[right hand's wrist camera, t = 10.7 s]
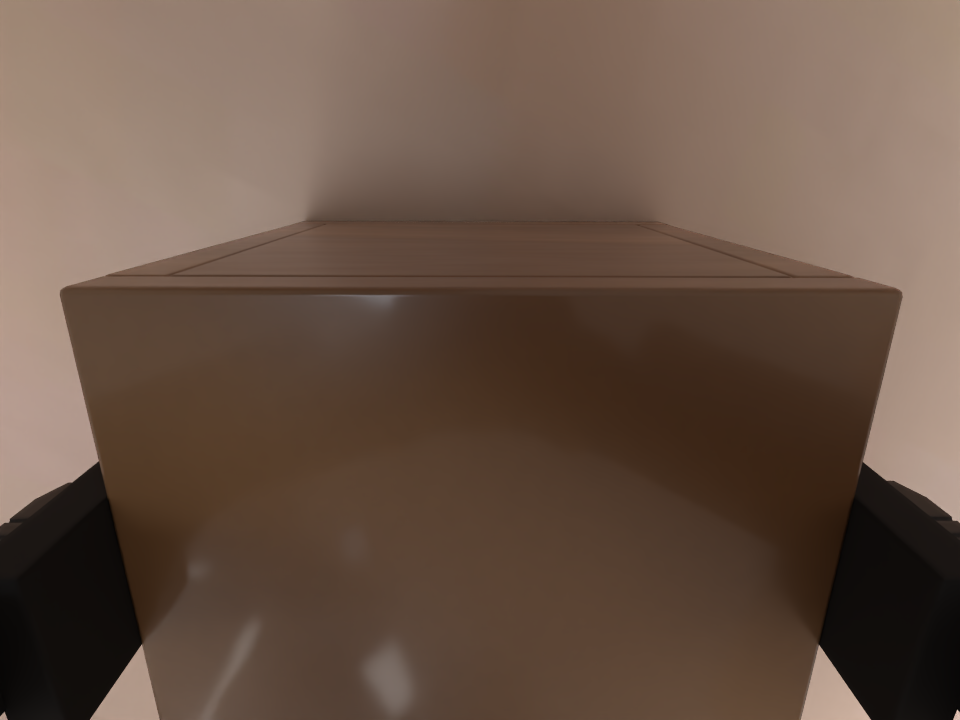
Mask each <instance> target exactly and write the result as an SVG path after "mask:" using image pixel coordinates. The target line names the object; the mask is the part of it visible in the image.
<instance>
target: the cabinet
mask: <svg viewBox="0 0 960 720" xmlns="http://www.w3.org/2000/svg"><path fill="white" fill-rule="evenodd" d="M60 297H61V302H62V306H63V310H64V314H65V319H66V323H67V327H68V331H69V336H70V340H71V344H72V348H73V353H74V357H75V361H76V365H77V370H78V374H79V378H80V382H81V387H82V391H83V395H84V399H85V404H86V408H87V412H88V416H89V421H90V425H91V429H92V433H93V438H94V442H95V446H96V450H97V455H98V459H99V463H100V467H101V472H102V476H103V480H104V484H105V489H106V493H107V497H108V501H109V506H110V510H111V514H112V518H113V523H114V527H115V531H116V535H117V540H118V544H119V548H120V552H121V557H122V561H123V565H124V569H125V574H126V578H127V582H128V586H129V591H130V595H131V599H132V603H133V608H134V612H135V616H136V620H137V625H138V629H139V633H140V637H141V642H142V646H143V650H144V654H145V659H146V663H147V667H148V671H149V676H150V680H151V684H152V688H153V693H154V697H155V701H156V705H157V710H158V714H159V718H160V720H801V716H802V712H803V708H804V704H805V700H806V695H807V691H808V687H809V683H810V679H811V675H812V670H813V666H814V662H815V658H816V654H817V650H818V646H819V641H820V637H821V633H822V629H823V625H824V621H825V616H826V612H827V608H828V604H829V600H830V596H831V592H832V587H833V583H834V579H835V575H836V571H837V567H838V562H839V558H840V554H841V550H842V546H843V542H844V538H845V533H846V529H847V525H848V521H849V517H850V513H851V508H852V504H853V500H854V496H855V492H856V488H857V484H858V479H859V475H860V471H861V467H862V463H863V459H864V454H865V450H866V446H867V442H868V438H869V434H870V430H871V425H872V421H873V417H874V413H875V409H876V405H877V400H878V396H879V392H880V388H881V384H882V380H883V376H884V371H885V367H886V363H887V359H888V355H889V351H890V346H891V342H892V338H893V334H894V330H895V326H896V322H897V317H898V313H899V309H900V305H901V301H902V292H901V291H900V290H898V289H896V288H893V287H890V286H886V285H882V284H879V283H875V282H871V281H868V280H864V279H861V278H854V277H852V276H850V275H846V274H843V273H839V272H835V271H832V270H828V269H824V268H821V267H817V266H814V265H810V264H806V263H803V262H799V261H796V260H792V259H788V258H785V257H781V256H778V255H774V254H770V253H767V252H763V251H759V250H756V249H752V248H749V247H745V246H741V245H738V244H734V243H731V242H727V241H723V240H720V239H716V238H713V237H709V236H705V235H702V234H698V233H694V232H691V231H687V230H684V229H680V228H676V227H673V226H669V225H667V224H664V223H660V222H441V221H303V222H299V223H296V224H293V225H289V226H285V227H281V228H278V229H274V230H270V231H267V232H263V233H259V234H256V235H252V236H248V237H245V238H241V239H237V240H233V241H230V242H226V243H222V244H219V245H215V246H211V247H208V248H204V249H200V250H197V251H193V252H189V253H186V254H182V255H178V256H174V257H171V258H167V259H163V260H160V261H156V262H152V263H149V264H145V265H141V266H138V267H134V268H130V269H126V270H123V271H119V272H115V273H112V274H108V275H106V276H103V277H99V278H96V279H92V280H88V281H85V282H81V283H77V284H74V285H70V286H67V287H65V288H62V289H61V291H60Z"/></svg>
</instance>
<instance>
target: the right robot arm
mask: <svg viewBox="0 0 960 720" xmlns="http://www.w3.org/2000/svg"><path fill="white" fill-rule="evenodd" d="M141 645H142V642H141V637H140V633H139V629H138V625H137V620H136V616H135V612H134V608H133V603H132V599H131V595H130V591H129V586H128V582H127V578H126V574H125V569H124V565H123V561H122V557H121V552H120V548H119V544H118V540H117V535H116V531H115V527H114V523H113V518H112V514H111V510H110V506H109V501H108V497H107V493H106V489H105V484H104V480H103V476H102V472H101V467H100V463H99V462H97V463H96V464H95V465H94V466H92V467H91V468H90V469H89V470H87V471H86V472H85V473H84V474H83V475H81V476H80V477H79V478H78V479H76V480H75V481H74V482H73V483H67V484H65V485H63V486H61V487H59V488H57V489H55V490H53V491H51V492H49V493H47V494H45V495H43V496H41V497H39V498H37V499H35V500H34V501H32V502H31V503H30V504H29V505H27V506H26V507H25V508H23V509H22V510H21V511H20V512H18V513H17V514H16V515H14V516H13V517H12V518H10V522H9V523H4V524H3V525H1V526H0V716H1V715H2V714H3V712H4V711H5V714H6V716H7V719H8V720H90V718H91V717H92V715H93V714H94V713H95V711H96V710H97V708H98V707H99V705H100V704H101V702H102V701H103V700H104V698H105V697H106V695H107V694H108V692H109V691H110V689H111V688H112V687H113V685H114V684H115V682H116V681H117V679H118V678H119V676H120V675H121V673H122V672H123V671H124V669H125V668H126V666H127V665H128V663H129V662H130V660H131V659H132V658H133V656H134V655H135V653H136V652H137V650H138V649H139V647H140V646H141ZM819 645H820V646H821V648H822V649H823V651H824V652H825V654H826V655H827V657H828V658H829V659H830V661H831V662H832V664H833V665H834V667H835V668H836V670H837V671H838V673H839V674H840V675H841V677H842V678H843V680H844V681H845V683H846V684H847V686H848V687H849V688H850V690H851V691H852V693H853V694H854V696H855V697H856V699H857V700H858V701H859V703H860V704H861V706H862V707H863V709H864V710H865V712H866V713H867V715H868V716H869V717H870V719H871V720H953V719H954V716H955V714H956V711H957V709H958V711H959V712H960V523H959V522H958V521H952V517H951V516H950V515H949V514H947V513H946V512H945V511H943V510H942V509H941V508H940V507H938V506H937V505H936V504H934V503H933V502H932V501H930V500H929V499H928V498H927V497H925V496H923V495H921V494H919V493H917V492H915V491H913V490H911V489H909V488H907V487H905V486H903V485H901V484H899V483H897V482H895V481H886V480H884V479H883V478H882V477H881V476H879V475H878V474H877V473H876V472H874V471H873V470H872V469H871V468H870V467H868V466H867V465H866V464H865V463H862V467H861V471H860V475H859V479H858V484H857V488H856V492H855V496H854V500H853V504H852V508H851V513H850V517H849V521H848V525H847V529H846V533H845V538H844V542H843V546H842V550H841V554H840V558H839V562H838V567H837V571H836V575H835V579H834V583H833V587H832V592H831V596H830V600H829V604H828V608H827V612H826V616H825V621H824V625H823V629H822V633H821V637H820V641H819Z"/></svg>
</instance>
